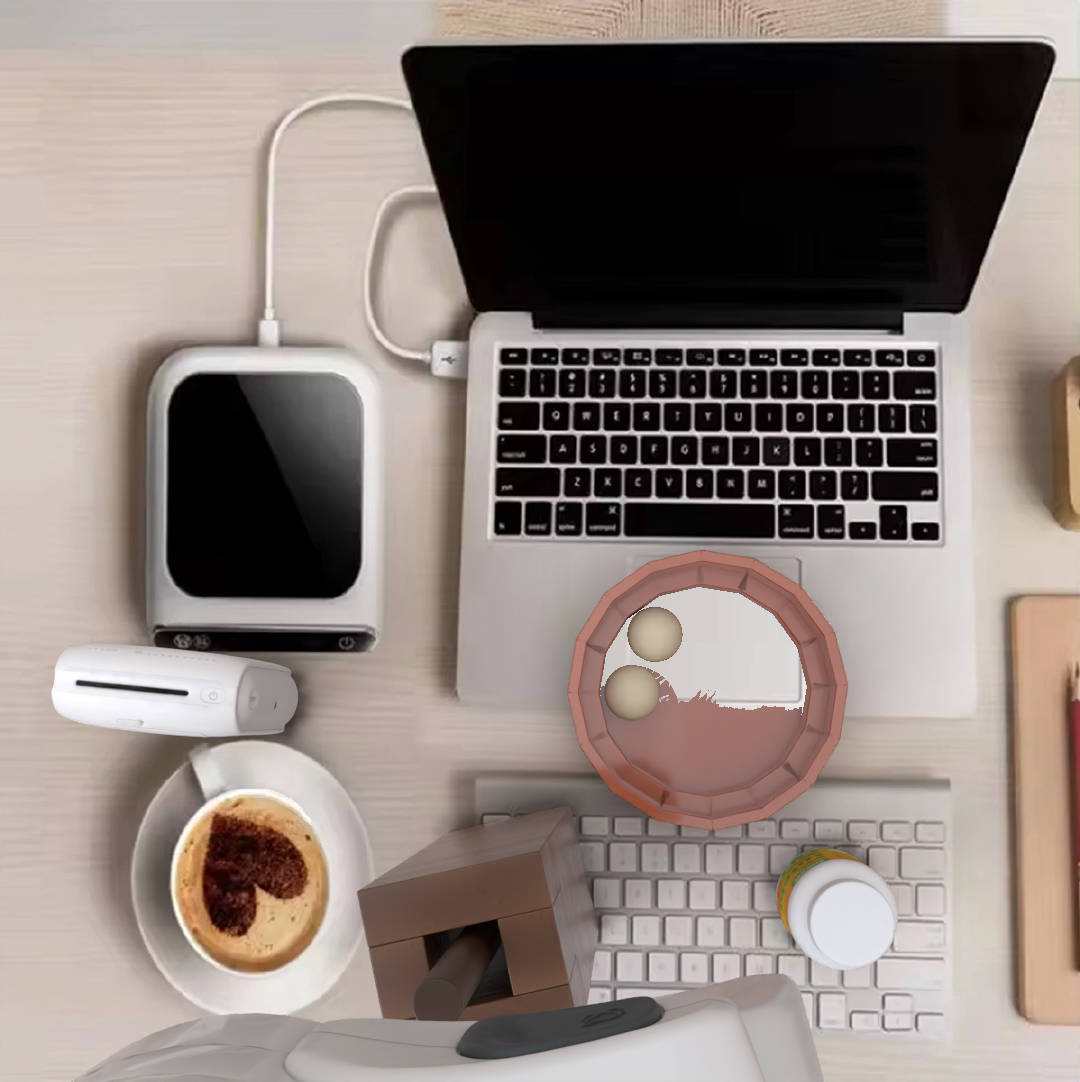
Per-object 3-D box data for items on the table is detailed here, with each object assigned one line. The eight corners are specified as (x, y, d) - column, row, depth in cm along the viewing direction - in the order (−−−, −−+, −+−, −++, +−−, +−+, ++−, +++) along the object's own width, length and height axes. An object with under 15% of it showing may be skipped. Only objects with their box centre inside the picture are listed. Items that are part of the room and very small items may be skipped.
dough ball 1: (632, 594, 75) (609, 634, 77) (657, 632, 73) (633, 673, 75) (675, 596, 77) (652, 636, 79) (701, 633, 75) (676, 673, 77)
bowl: (859, 788, 76) (876, 794, 71) (606, 845, 77) (603, 855, 71) (795, 537, 78) (807, 524, 73) (549, 595, 79) (542, 586, 73)
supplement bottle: (806, 827, 76) (831, 844, 67) (893, 879, 76) (931, 904, 66) (756, 913, 76) (774, 942, 66) (843, 967, 75) (874, 1004, 66)
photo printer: (305, 663, 79) (245, 653, 67) (296, 739, 79) (234, 744, 67) (129, 646, 80) (38, 633, 68) (119, 721, 80) (26, 722, 67)
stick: (507, 948, 57) (467, 1024, 43) (469, 958, 57) (417, 1036, 43) (498, 909, 57) (456, 972, 43) (461, 919, 57) (406, 985, 43)
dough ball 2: (676, 705, 76) (662, 659, 75) (641, 736, 74) (625, 690, 73) (637, 694, 78) (622, 650, 77) (602, 725, 77) (586, 680, 75)
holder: (599, 931, 76) (582, 1042, 51) (474, 958, 77) (395, 1083, 51) (570, 804, 77) (539, 850, 52) (448, 831, 78) (356, 891, 52)
